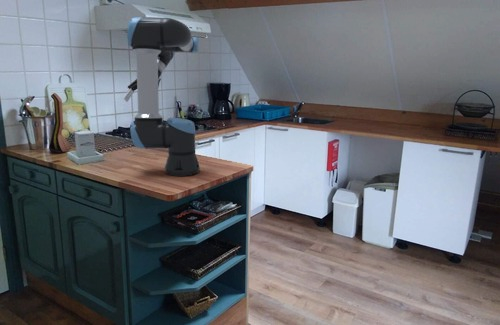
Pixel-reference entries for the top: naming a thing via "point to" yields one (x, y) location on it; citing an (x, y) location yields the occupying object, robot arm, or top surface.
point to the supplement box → (85, 144)
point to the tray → (85, 158)
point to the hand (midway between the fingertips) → (134, 100)
